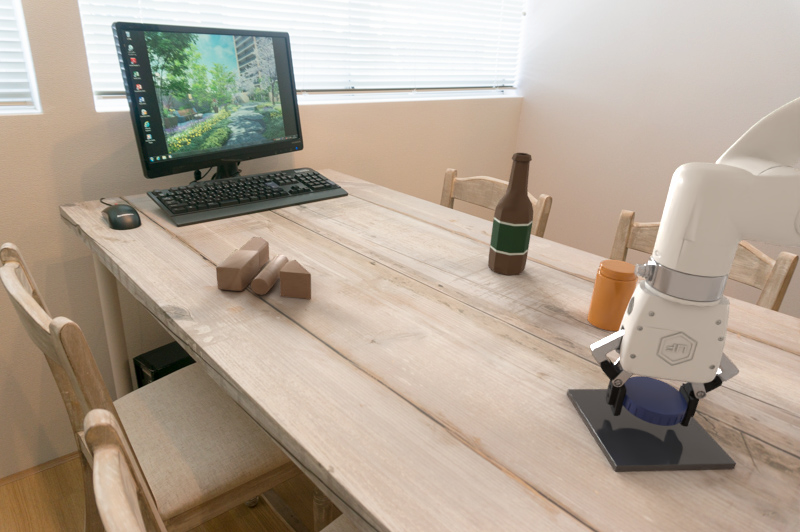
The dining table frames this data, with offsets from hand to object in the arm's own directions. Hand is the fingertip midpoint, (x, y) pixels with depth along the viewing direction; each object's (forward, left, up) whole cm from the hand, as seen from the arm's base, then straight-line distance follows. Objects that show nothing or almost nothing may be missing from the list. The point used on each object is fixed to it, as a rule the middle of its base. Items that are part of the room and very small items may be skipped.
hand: (646, 413), depth 64 cm
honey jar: (-1, -29, -2) cm, 29 cm away
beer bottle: (+16, -48, -2) cm, 51 cm away
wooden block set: (+59, -30, -2) cm, 66 cm away
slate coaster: (0, 0, -2) cm, 2 cm away
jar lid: (0, +1, +3) cm, 3 cm away
